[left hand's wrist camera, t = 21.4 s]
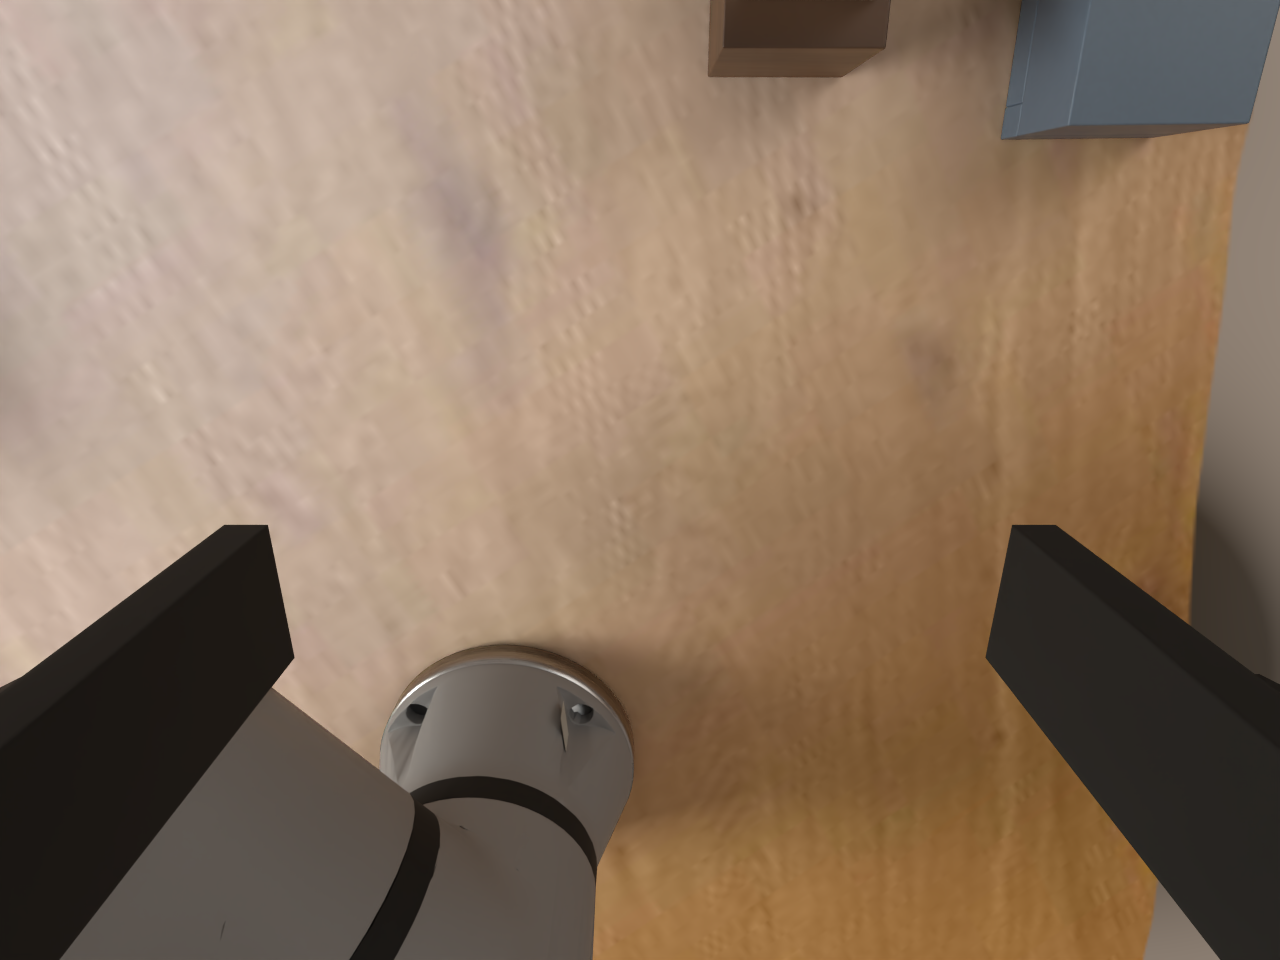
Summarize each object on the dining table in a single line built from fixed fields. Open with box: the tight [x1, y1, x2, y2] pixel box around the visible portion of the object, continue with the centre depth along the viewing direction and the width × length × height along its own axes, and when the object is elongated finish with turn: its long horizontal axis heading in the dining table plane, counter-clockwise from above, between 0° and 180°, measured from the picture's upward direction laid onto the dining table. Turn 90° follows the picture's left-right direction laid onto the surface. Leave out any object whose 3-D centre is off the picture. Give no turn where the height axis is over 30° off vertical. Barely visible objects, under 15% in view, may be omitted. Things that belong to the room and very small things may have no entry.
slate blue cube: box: [1001, 0, 1280, 140], centre depth 29 cm, size 7×7×6 cm
